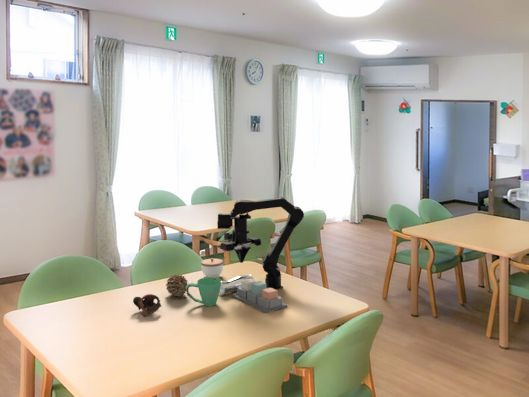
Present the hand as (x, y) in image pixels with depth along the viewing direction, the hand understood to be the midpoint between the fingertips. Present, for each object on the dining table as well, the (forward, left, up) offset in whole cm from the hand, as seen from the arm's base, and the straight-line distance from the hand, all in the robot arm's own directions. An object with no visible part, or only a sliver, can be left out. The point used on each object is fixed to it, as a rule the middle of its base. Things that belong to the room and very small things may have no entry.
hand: (241, 262), depth 230 cm
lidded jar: (+2, -23, -12) cm, 26 cm away
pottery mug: (+46, +1, -12) cm, 48 cm away
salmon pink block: (+4, +26, -10) cm, 28 cm away
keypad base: (+4, +19, -12) cm, 23 cm away
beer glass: (+12, +2, -9) cm, 15 cm away
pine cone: (+27, -12, -12) cm, 32 cm away
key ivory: (+4, +11, -10) cm, 16 cm away
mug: (+24, +8, -12) cm, 28 cm away
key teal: (+4, +19, -9) cm, 21 cm away
